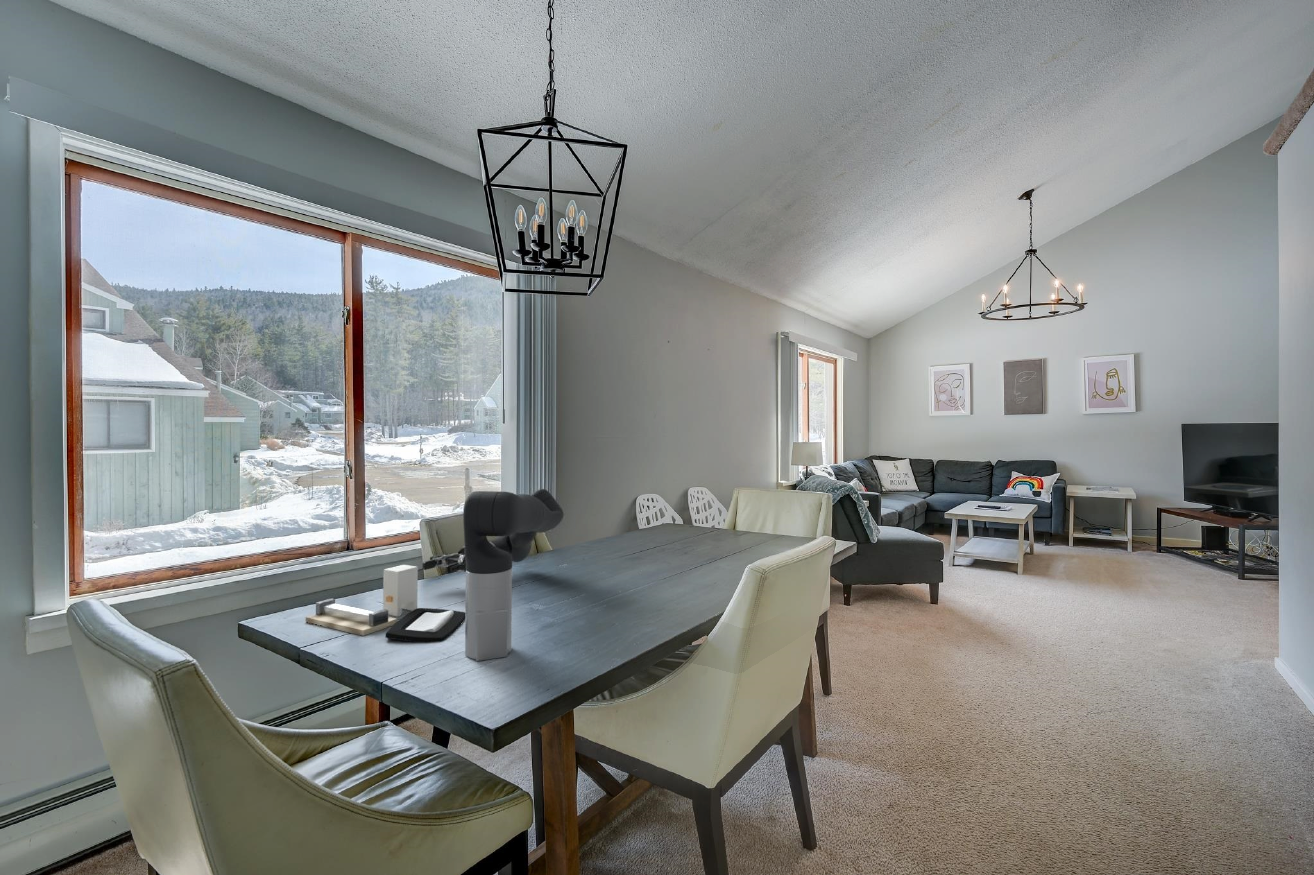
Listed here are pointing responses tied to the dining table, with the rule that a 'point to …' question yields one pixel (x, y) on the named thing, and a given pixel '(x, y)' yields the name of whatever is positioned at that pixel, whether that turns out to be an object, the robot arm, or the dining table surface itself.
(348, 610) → the rail
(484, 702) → the dining table surface
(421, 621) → the light switch
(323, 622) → the mounting board
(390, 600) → the block
